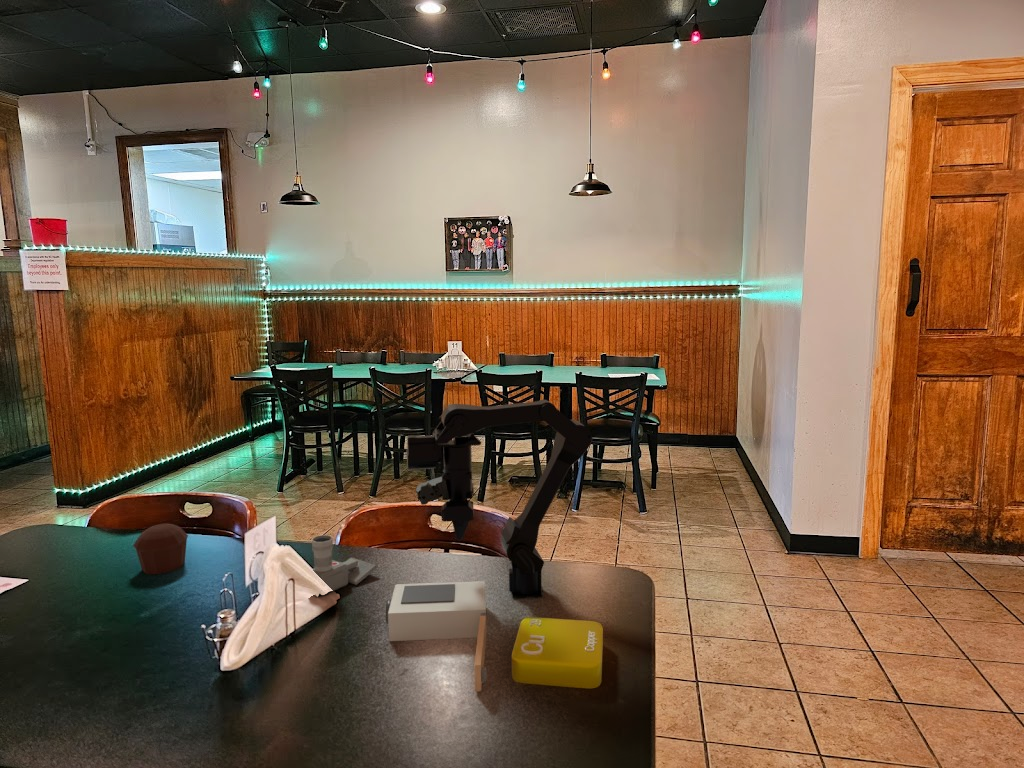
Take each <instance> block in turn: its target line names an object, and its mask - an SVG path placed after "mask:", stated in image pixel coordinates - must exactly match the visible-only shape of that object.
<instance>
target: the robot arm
mask: <svg viewBox="0 0 1024 768" xmlns="http://www.w3.org/2000/svg"><path fill="white" fill-rule="evenodd" d="M440 420H441V421H440V422H439V423H438V425H437V426H436V428H435V429H434V430H433V432H432V435H430V434H429V435H407V437H406V438H407V439H406V440H407V443H406V445H407V446H406V448H407V449H406V451H405V452H406V466H407V470H408V471H412V470H425V469H426V470H430V469H436V467H437V466H439V464H441V462H442V455H441V454H442V452H441V450H442V451H443V470H442V475H441V476H439V477H436V478H433V479H430V480H427V481H425V482H422V483H420V484H418V485H416V489H415V492H416V495H417V499H418V501H419V502H420V504H421V505H423V506H424V505H428V503H430V502H432V501H434V500H435V501H436V500H437V499H440V498H442V501H445V502H444V504H442V505H441V511H440V512H441V521H442V522H451V523H452V527H453V530H454V533H455V537H456V541H462V540H463V538H464V536H465V533H466V531H467V528H468V526H469V524H470V522H471V521H474V519H475V518H474V517H475V516H474V509H475V508H474V501H472V499H473V496H474V495H475V494H474V483H473V465H472V464H473V462H472V457H473V456H472V446H480V445H481V444H482V441H480V439H479V438H478V437H477V436H476V435H475V434H474V433H477V432H479V431H482V430H484V429H487V428H490V427H492V428H493V427H498V426H500V427H501V426H509V425H517V424H527V423H536V422H545V424H547V425H548V426H549V427H551V428H552V429H553V430H554V431H556V433H555V437H554V440H553V445H552V452H551V456H550V459H549V460H548V463H547V464H546V466H545V468H544V470H543V472H542V474H541V476H540V478H539V479H538V481H537V483H536V485H535V487H534V489H533V490H532V493H531V495H530V497H529V499H528V500H527V503H526V504H525V506H524V508H523V510H522V512H521V513H520V514H519V516H517V517H516V518H515V519H514V518H512V517H511V516H508V518H507V521H506V524H505V526H504V527H503V529H502V530H501V531H500V535H501V537H500V542H501V546H502V549H503V551H504V553H505V555H506V557H507V559H508V560H509V561H510V562H511V564H510V568H508V591H509V593H511V597H512V599H529V598H543V597H544V594H543V590H542V589H543V587H542V585H543V584H542V578H543V577H542V570H543V567H544V564H545V561H544V559H543V558H542V556H541V555H540V553H539V551H538V549H537V548H536V545H537V542H538V538H539V537H538V536H539V530H540V526H541V524H542V521H543V519H544V517H545V516H546V514H547V512H548V510H549V508H550V506H551V505H552V502H553V500H554V498H555V496H556V495H557V493H558V491H559V489H560V487H561V486H562V483H563V481H564V480H565V477H566V476H567V474H568V472H569V469H570V468H571V467H573V465H574V464H575V463H576V462H578V461H579V460H580V459H581V458H583V457H582V456H584V454H585V453H586V451H587V450H588V449H589V448H590V446H591V444H592V441H593V436H592V432H591V430H590V429H589V427H587V426H586V425H584V424H583V423H581V422H579V421H578V420H576V419H570V418H569V417H567V416H566V415H565V414H564V413H563V412H561V410H559V409H558V408H557V407H556V406H555V404H554V403H552V402H551V401H549V400H547V399H539V400H537V401H527V402H518V403H511V404H510V403H509V404H500V405H492V406H491V405H490V406H482V405H474V404H473V405H472V404H466V403H465V404H464V403H463V404H462V403H452V404H448V405H446V407H445V408H444V409H443V411H442V413H441V419H440ZM441 448H443V449H441ZM470 499H471V500H470Z"/></svg>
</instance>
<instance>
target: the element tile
mask: <svg viewBox="0 0 1024 768" xmlns="http://www.w3.org/2000/svg"><path fill="white" fill-rule="evenodd" d="M603 637H604V627H603V626H602V624H601V623H600V622H598V621H594V620H581V619H580V620H579V619H578V620H576V619H568V618H567V619H564V618H553V617H552V618H550V617H535V616H534V617H533V616H531V617H530V616H529V617H528V616H526V617H525V618H523V619H522V620H521V621H520V624H519V627H518V631H517V635H516V637H515V638H516V639H515V641H514V645H513V647H512V648H513V649H512V653H511V678H512V679H513V681H514V682H517V683H521V684H530V685H540V686H541V685H542V686H555V687H564V688H567V687H568V688H577V689H578V688H579V689H595V688H598V687H600V685H601V683H602V678H603V677H602V674H603V673H602V672H603V649H604V644H603V641H604V638H603Z"/></svg>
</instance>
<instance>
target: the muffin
mask: <svg viewBox="0 0 1024 768" xmlns="http://www.w3.org/2000/svg"><path fill="white" fill-rule="evenodd" d="M188 537H189V535H188V534H187V533H186V532H185V530H184V529H183V528H181V527H180V526H178V525H177V524H174V523H173V524H172V523H159V524H155V525H151V526H150V527H147V529H145V530H143V532H141V533H140V535H139V536H138V538H136V540H135V542H134V544H132V547H133V548H134V549H135V551H136V553H137V557H138V560H139V561H138V562H139V564H140V569H141V571H142V570H143V571H142V572H143V573H145V575H155V574H158V575H162V574H161V573H163V574H166V572H168V573H172V572H174V571H176V570H179V569H182V567H183V565H184V564H185V563H186V552H187V543H188V542H187V541H188ZM181 566H182V567H181ZM178 568H179V569H178ZM173 570H174V571H173ZM171 571H172V572H171Z"/></svg>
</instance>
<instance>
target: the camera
mask: <svg viewBox="0 0 1024 768" xmlns="http://www.w3.org/2000/svg"><path fill="white" fill-rule="evenodd" d="M311 546H312V547H311V548H312V549H311V550H312V552H313V562H314V567H313V568H312V569H313V571H314V572H315V573H316V574H317V575H318V576H319V577H320V578H321V579H322V580H323V581H324V582H325V583H326V584H327V585H328V586H329V587H330V588H331V589H332V590H333V592H334V591H337V590H339V589H341V588H344V587H346V586H347V585H348V584H353V585H355V586H357V585H358V584H359V583H361V582H362V581H363V580H364V579H366V578H367V577H368V576H369V575H370V574H371V573H373V572H374V571H376V570H377V569H378V565H376V564H373V563H370V562H367V561H364V560H360V559H357V558H354V557H349V558H348V559H347V560H346V561H342V562H341V561H337V560H334V559H333V552H332V550H333V549H334V541H333V536H332V535H329V534H320V535H316V536H314V537H313V538H311Z"/></svg>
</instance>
